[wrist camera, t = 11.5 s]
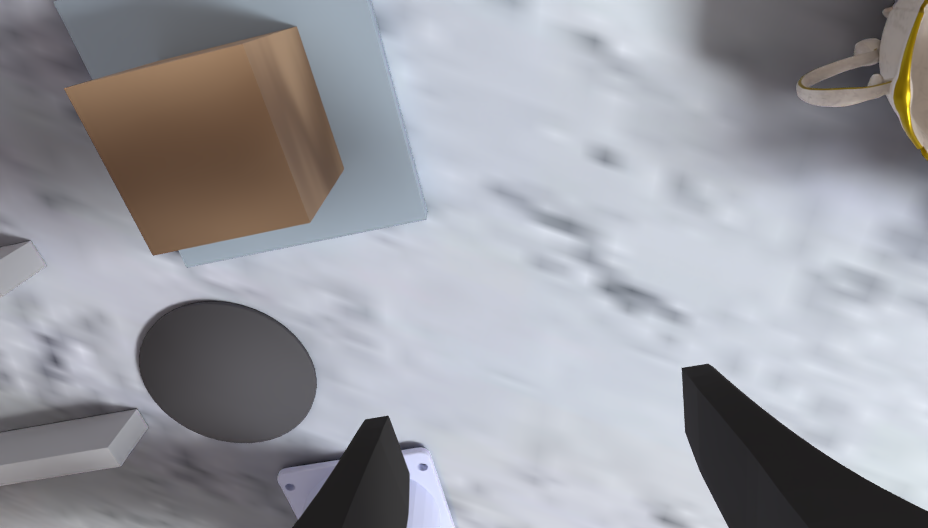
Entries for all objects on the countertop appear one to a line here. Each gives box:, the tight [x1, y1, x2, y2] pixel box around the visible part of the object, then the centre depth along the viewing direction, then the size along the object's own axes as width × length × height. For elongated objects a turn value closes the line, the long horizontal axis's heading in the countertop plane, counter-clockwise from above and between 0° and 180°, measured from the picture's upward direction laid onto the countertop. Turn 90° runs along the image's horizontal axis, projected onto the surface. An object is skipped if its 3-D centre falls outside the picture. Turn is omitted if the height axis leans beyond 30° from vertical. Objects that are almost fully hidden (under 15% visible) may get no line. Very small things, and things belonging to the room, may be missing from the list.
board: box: [53, 0, 428, 268], centre depth 20 cm, size 10×10×1 cm
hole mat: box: [139, 302, 317, 443], centre depth 26 cm, size 8×8×1 cm
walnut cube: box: [64, 26, 344, 256], centre depth 18 cm, size 5×5×5 cm
